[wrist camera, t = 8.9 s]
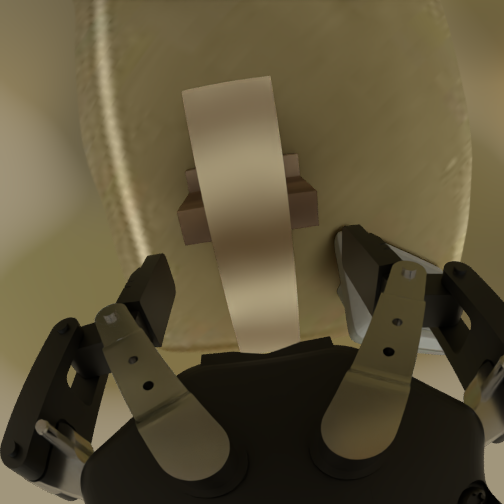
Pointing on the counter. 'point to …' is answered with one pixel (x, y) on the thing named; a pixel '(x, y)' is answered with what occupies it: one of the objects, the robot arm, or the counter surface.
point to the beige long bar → (247, 207)
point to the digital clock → (358, 311)
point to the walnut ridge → (299, 201)
